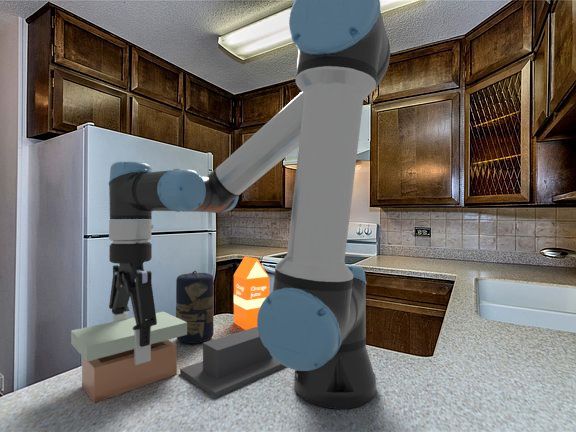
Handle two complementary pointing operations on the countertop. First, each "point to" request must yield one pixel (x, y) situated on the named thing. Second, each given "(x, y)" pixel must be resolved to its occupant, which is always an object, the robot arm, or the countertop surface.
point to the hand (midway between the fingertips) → (130, 353)
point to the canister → (195, 305)
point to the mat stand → (231, 363)
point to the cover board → (122, 336)
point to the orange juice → (249, 292)
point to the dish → (127, 371)
